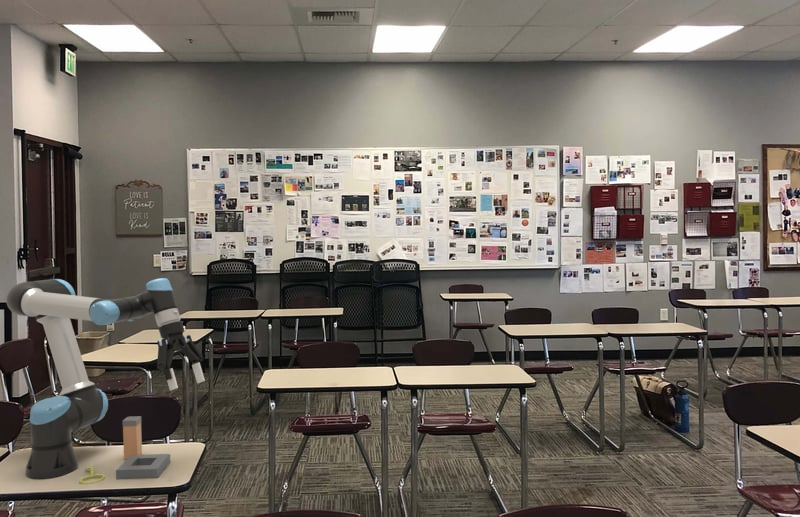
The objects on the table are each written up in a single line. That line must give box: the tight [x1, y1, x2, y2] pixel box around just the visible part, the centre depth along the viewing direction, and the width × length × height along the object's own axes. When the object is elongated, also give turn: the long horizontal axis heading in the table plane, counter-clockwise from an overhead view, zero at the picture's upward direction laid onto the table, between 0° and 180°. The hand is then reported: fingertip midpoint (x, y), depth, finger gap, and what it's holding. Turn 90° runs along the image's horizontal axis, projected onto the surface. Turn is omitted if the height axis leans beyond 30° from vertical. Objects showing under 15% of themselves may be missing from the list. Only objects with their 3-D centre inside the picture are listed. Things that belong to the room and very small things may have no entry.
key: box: [78, 464, 106, 485], centre depth 198 cm, size 7×12×2 cm, turn 45°
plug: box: [122, 415, 143, 461], centre depth 214 cm, size 5×5×14 cm
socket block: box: [115, 453, 171, 480], centre depth 203 cm, size 13×13×3 cm
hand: (188, 385), depth 200 cm, fingers open, 13 cm apart
